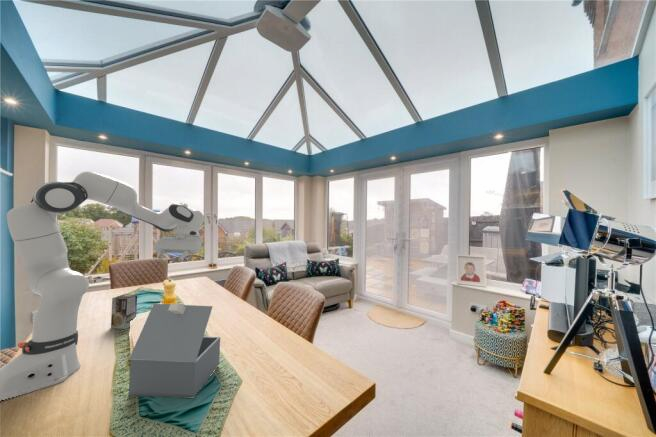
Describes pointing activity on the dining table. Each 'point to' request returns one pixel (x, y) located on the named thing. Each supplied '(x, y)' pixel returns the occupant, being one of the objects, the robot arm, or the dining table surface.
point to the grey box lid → (172, 333)
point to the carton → (174, 373)
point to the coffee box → (123, 311)
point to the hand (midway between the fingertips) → (169, 259)
